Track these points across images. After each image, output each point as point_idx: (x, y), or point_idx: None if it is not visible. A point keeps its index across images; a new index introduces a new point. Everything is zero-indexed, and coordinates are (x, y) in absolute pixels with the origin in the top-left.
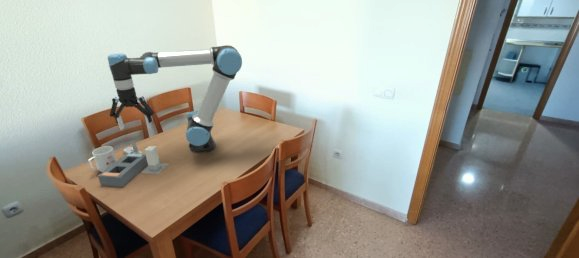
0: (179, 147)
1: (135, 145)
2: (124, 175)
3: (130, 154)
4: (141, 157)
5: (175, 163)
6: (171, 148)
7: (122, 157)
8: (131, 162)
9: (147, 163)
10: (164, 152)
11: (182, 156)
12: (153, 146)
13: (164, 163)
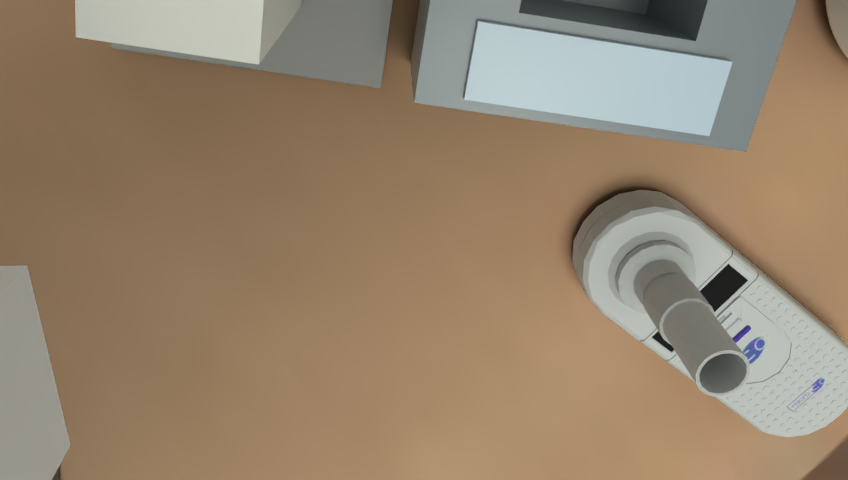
0: (193, 456)
1: (678, 332)
2: None
3: (677, 102)
4: (460, 8)
5: (41, 75)
6: (284, 435)
7: (780, 18)
8: (633, 18)
9: (415, 43)
10: (331, 348)
11: (39, 252)
12: (140, 39)
13: (180, 56)
